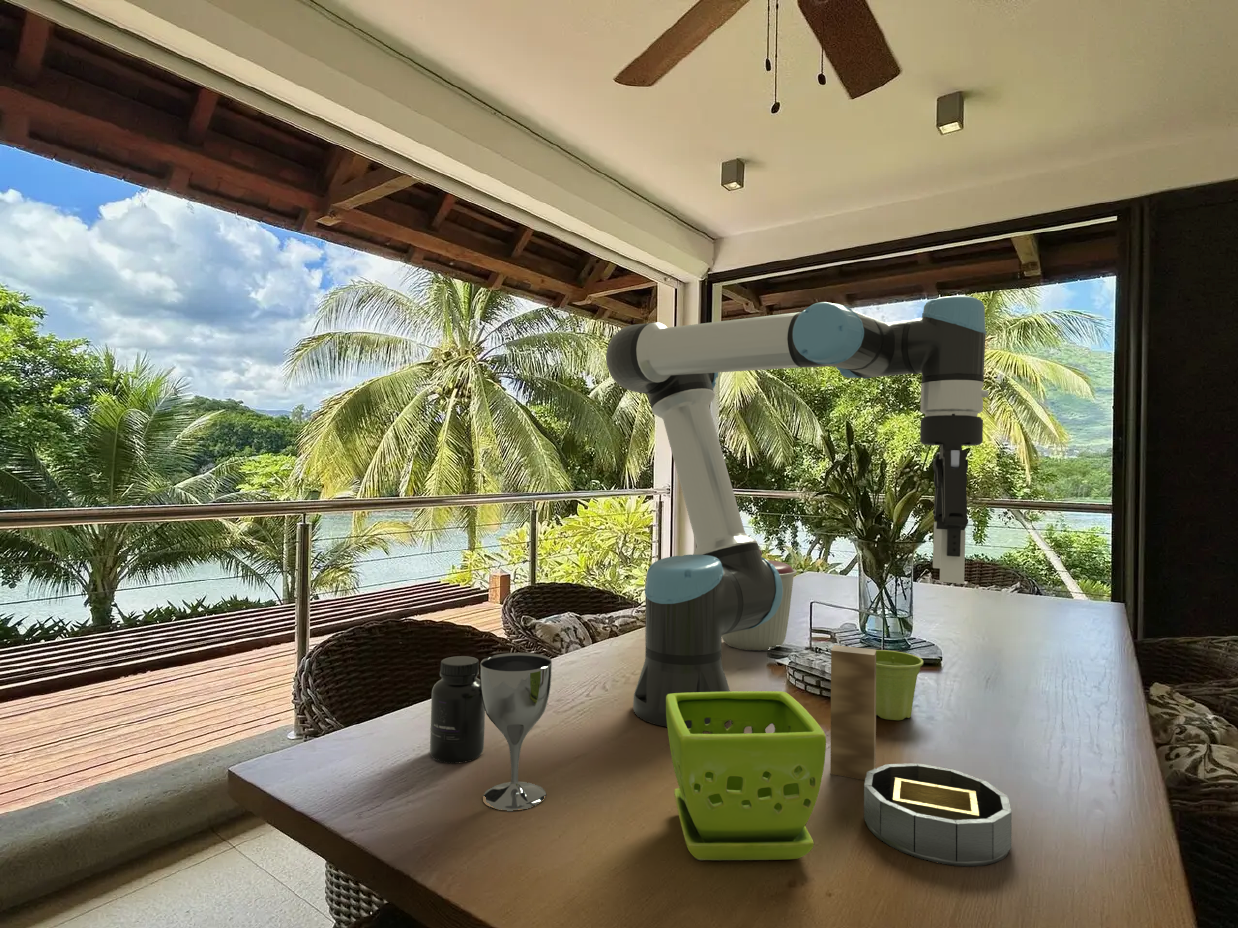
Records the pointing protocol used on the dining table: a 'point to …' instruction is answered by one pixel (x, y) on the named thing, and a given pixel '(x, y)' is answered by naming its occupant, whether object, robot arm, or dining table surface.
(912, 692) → the plant pot
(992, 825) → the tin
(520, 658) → the wine glass
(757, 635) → the canister
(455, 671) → the supplement bottle
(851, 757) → the wooden slab
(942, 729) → the dining table surface
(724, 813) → the flower pot
